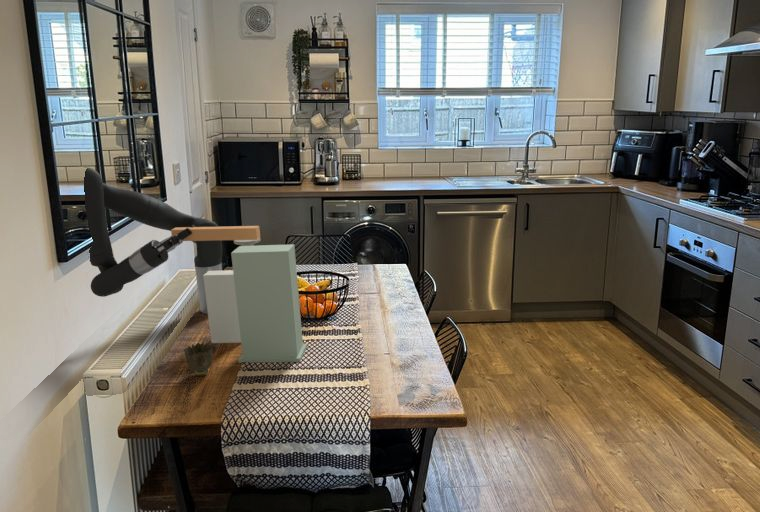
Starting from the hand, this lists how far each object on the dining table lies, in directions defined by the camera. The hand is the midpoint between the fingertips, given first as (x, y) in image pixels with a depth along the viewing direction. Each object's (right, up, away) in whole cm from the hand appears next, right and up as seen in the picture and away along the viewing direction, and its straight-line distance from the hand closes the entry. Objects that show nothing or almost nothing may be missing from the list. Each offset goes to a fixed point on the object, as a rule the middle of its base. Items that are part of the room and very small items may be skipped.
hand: (192, 229), depth 186 cm
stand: (+25, -37, -5) cm, 45 cm away
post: (+9, -34, +8) cm, 37 cm away
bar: (+7, -3, 0) cm, 8 cm away
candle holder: (+5, -21, +62) cm, 66 cm away
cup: (+7, -41, -16) cm, 44 cm away
